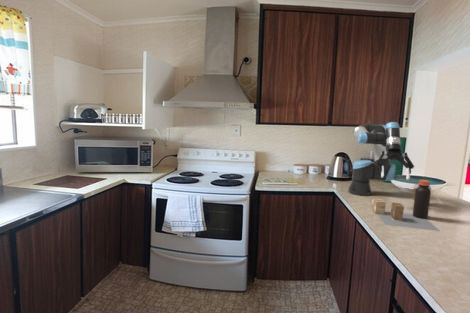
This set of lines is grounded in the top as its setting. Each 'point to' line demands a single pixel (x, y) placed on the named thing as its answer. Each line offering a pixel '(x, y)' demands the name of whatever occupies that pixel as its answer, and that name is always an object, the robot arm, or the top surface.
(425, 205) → the vinegar
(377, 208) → the oak block
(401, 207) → the walnut block
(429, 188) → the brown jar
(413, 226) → the mat
